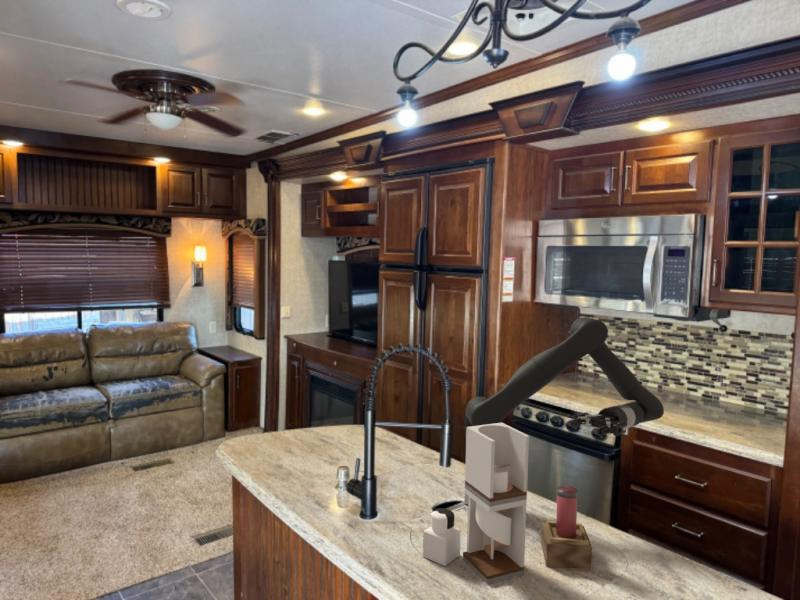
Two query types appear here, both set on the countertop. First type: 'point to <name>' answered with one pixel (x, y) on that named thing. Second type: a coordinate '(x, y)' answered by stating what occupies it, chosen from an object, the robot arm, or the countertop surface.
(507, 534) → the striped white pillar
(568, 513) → the red lidded canister
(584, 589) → the countertop surface
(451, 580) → the countertop surface
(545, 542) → the wooden box
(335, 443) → the countertop surface
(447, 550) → the medicine bottle
